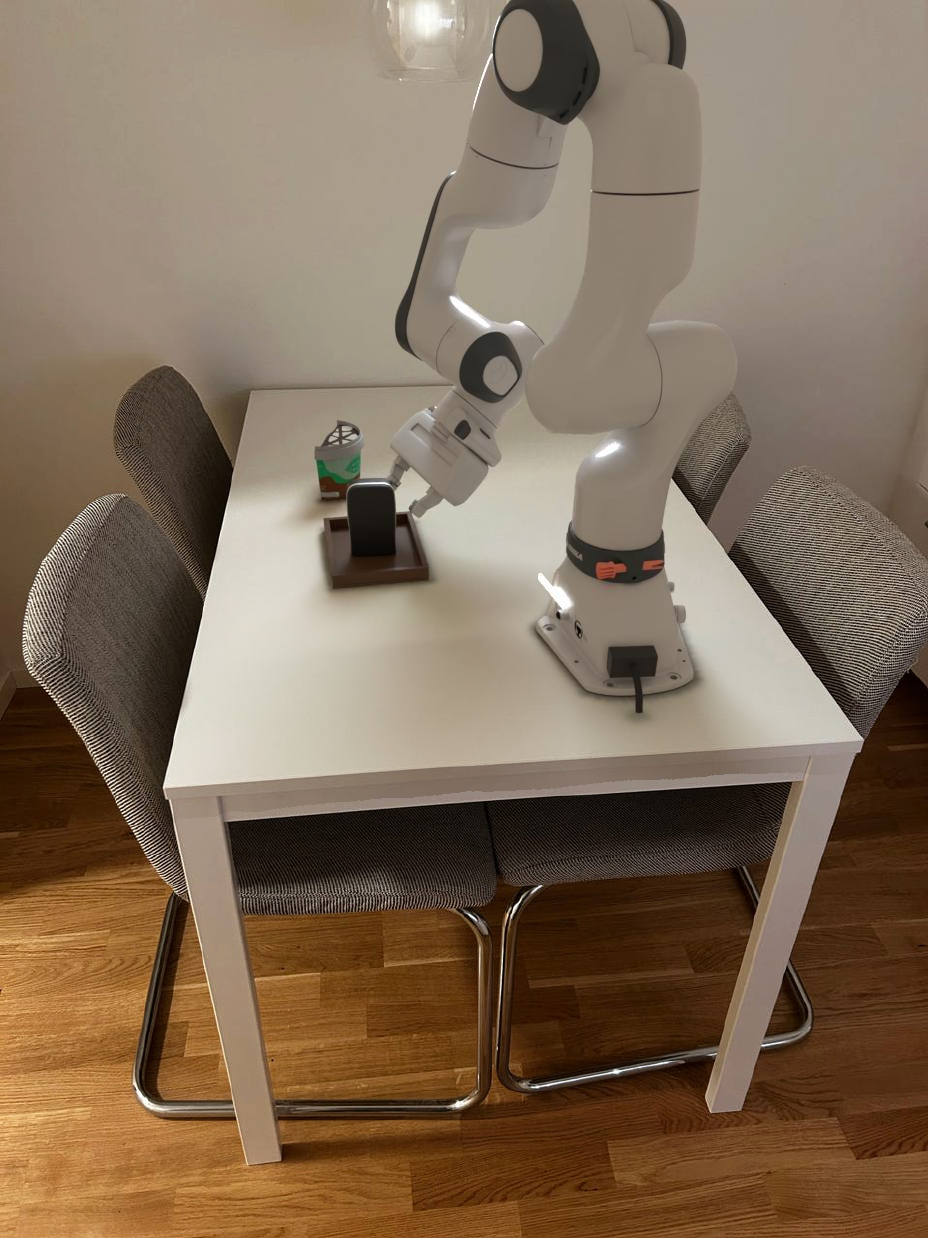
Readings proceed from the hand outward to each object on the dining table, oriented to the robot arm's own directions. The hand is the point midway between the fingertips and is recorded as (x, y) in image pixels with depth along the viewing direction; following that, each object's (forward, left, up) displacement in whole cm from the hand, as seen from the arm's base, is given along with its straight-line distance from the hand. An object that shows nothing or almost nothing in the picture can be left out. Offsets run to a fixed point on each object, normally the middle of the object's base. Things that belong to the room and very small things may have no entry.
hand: (400, 500), depth 137 cm
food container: (+21, +6, -8) cm, 23 cm away
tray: (-1, +4, -8) cm, 9 cm away
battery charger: (-1, +4, -8) cm, 9 cm away
